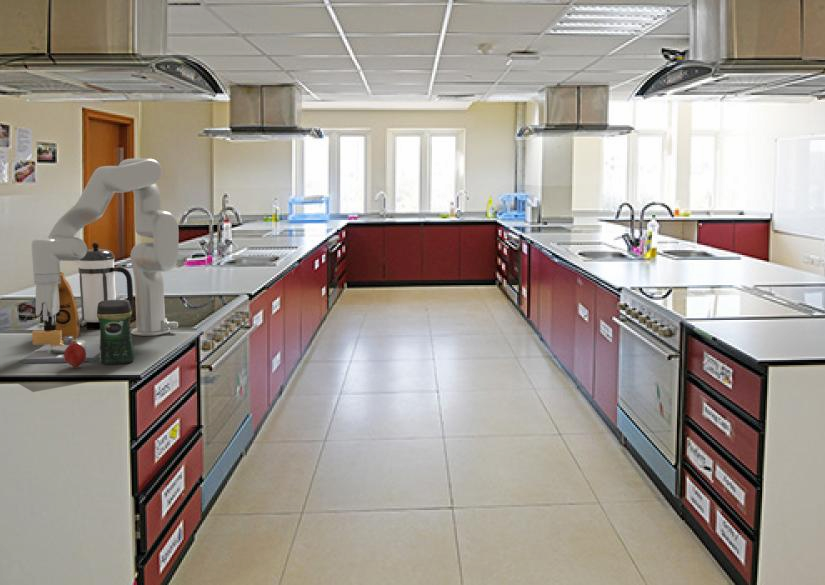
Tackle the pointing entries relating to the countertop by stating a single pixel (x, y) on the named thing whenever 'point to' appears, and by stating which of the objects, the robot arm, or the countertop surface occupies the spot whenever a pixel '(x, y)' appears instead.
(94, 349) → the board
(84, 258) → the coffee press
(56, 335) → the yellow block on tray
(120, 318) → the coffee jar
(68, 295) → the coffee package
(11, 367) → the countertop surface
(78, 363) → the pomegranate
